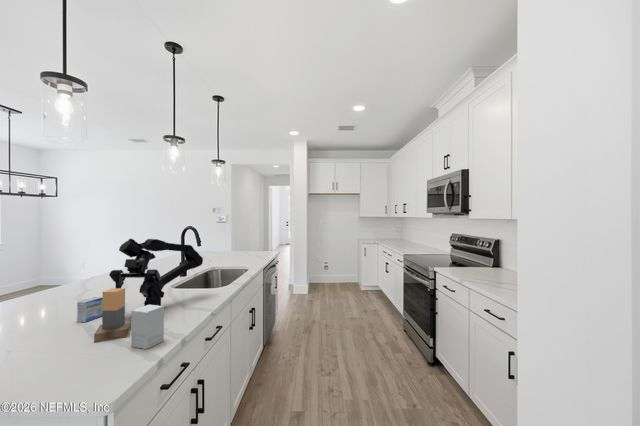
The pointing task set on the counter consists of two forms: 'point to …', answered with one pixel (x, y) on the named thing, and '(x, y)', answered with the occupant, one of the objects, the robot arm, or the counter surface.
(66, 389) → the counter surface
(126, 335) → the walnut stand
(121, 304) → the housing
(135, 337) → the supplement box
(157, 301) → the robot arm
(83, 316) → the medicine box
